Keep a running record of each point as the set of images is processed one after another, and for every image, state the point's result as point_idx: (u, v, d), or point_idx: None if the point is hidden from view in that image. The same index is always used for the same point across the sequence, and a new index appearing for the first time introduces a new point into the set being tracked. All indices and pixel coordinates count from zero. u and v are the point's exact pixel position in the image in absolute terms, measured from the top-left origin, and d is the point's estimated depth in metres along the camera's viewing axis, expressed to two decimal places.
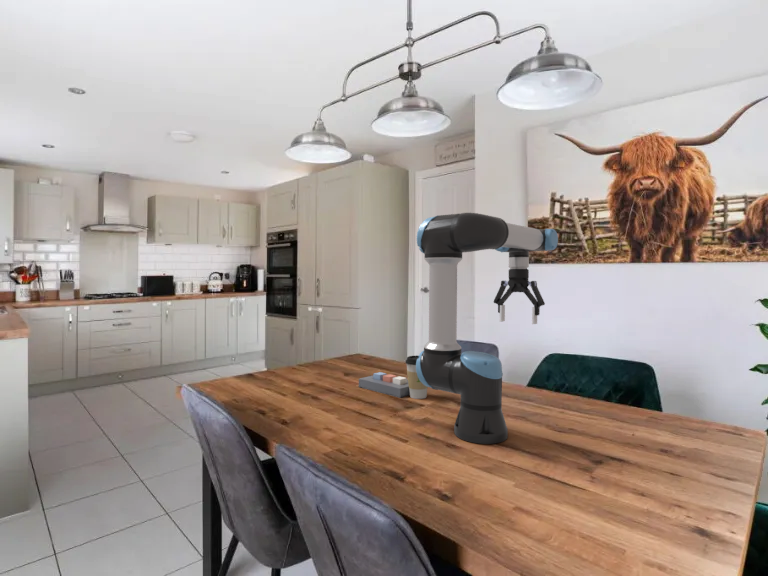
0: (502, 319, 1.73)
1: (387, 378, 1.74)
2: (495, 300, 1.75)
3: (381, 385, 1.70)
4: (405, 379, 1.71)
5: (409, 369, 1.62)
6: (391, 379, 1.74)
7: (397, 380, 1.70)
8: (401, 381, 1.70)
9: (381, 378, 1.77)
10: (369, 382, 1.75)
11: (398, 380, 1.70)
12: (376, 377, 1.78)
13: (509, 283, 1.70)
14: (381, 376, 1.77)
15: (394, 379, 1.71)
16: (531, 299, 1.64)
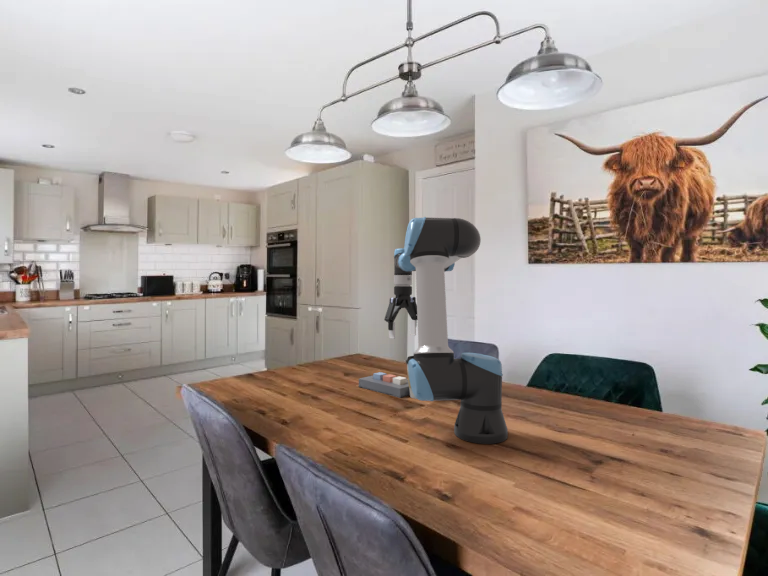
0: (411, 333, 1.86)
1: (387, 378, 1.74)
2: None
3: (381, 385, 1.70)
4: (405, 379, 1.71)
5: None
6: (391, 379, 1.74)
7: (397, 380, 1.70)
8: (401, 381, 1.70)
9: (381, 378, 1.77)
10: (369, 382, 1.75)
11: (398, 380, 1.70)
12: (376, 377, 1.78)
13: None
14: (381, 376, 1.77)
15: (394, 379, 1.71)
16: None
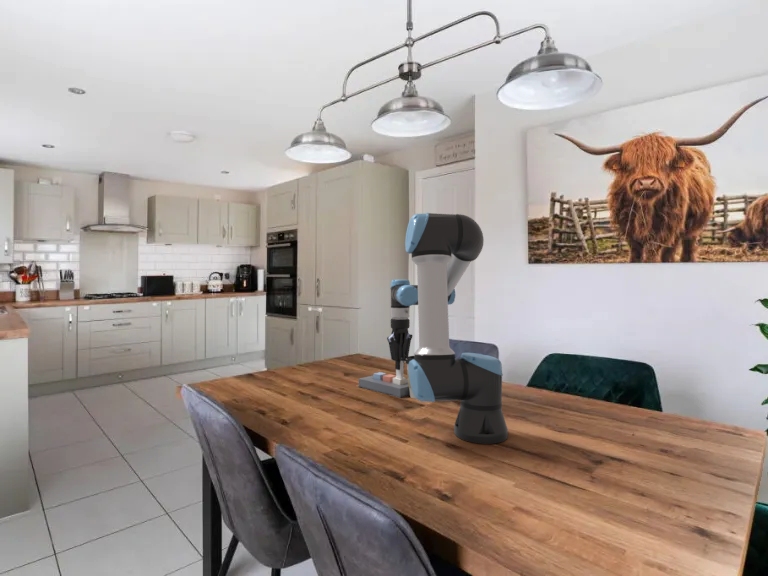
0: None
1: (387, 378, 1.74)
2: None
3: (381, 385, 1.70)
4: (405, 379, 1.71)
5: None
6: (391, 379, 1.74)
7: (397, 380, 1.70)
8: (401, 381, 1.70)
9: (381, 378, 1.77)
10: (369, 382, 1.75)
11: (398, 380, 1.70)
12: (376, 377, 1.78)
13: None
14: (381, 376, 1.77)
15: (394, 379, 1.71)
16: None
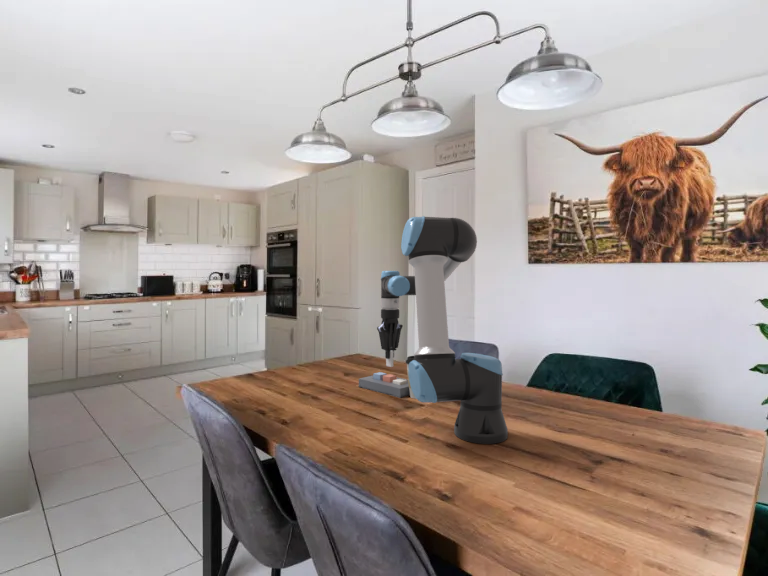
0: None
1: (387, 378, 1.74)
2: None
3: (381, 385, 1.70)
4: (405, 381, 1.71)
5: None
6: (391, 379, 1.74)
7: (397, 382, 1.70)
8: (401, 383, 1.70)
9: (381, 378, 1.77)
10: (369, 382, 1.75)
11: (398, 382, 1.70)
12: (376, 377, 1.78)
13: None
14: (381, 376, 1.77)
15: (394, 381, 1.71)
16: None
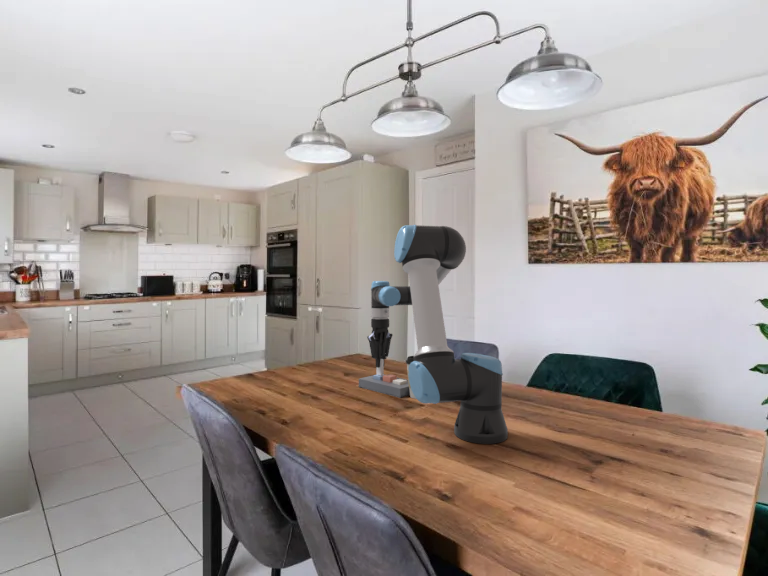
0: None
1: (387, 378, 1.74)
2: None
3: (381, 385, 1.70)
4: (405, 381, 1.71)
5: None
6: (391, 379, 1.74)
7: (397, 382, 1.70)
8: (401, 383, 1.70)
9: None
10: (369, 382, 1.75)
11: (398, 382, 1.70)
12: None
13: None
14: (381, 378, 1.77)
15: (394, 381, 1.71)
16: None
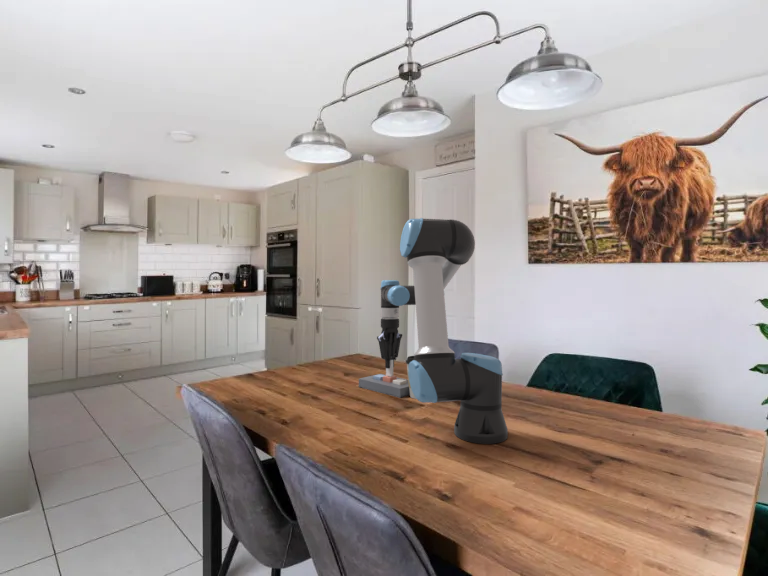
0: None
1: (387, 379, 1.74)
2: None
3: (381, 385, 1.70)
4: (405, 381, 1.71)
5: None
6: (391, 380, 1.74)
7: (397, 382, 1.70)
8: (401, 383, 1.70)
9: None
10: (369, 382, 1.75)
11: (398, 382, 1.70)
12: None
13: None
14: (381, 378, 1.77)
15: (394, 381, 1.71)
16: None
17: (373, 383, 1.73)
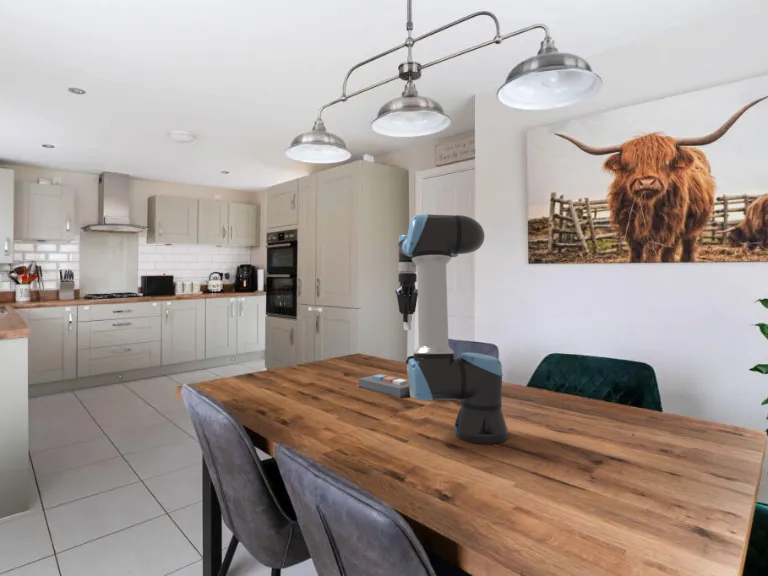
0: None
1: (387, 380, 1.74)
2: None
3: (381, 385, 1.70)
4: (405, 381, 1.71)
5: None
6: None
7: (397, 382, 1.70)
8: (401, 383, 1.70)
9: None
10: (369, 382, 1.75)
11: (398, 382, 1.70)
12: None
13: None
14: (381, 378, 1.77)
15: (394, 381, 1.71)
16: None
17: (373, 383, 1.73)
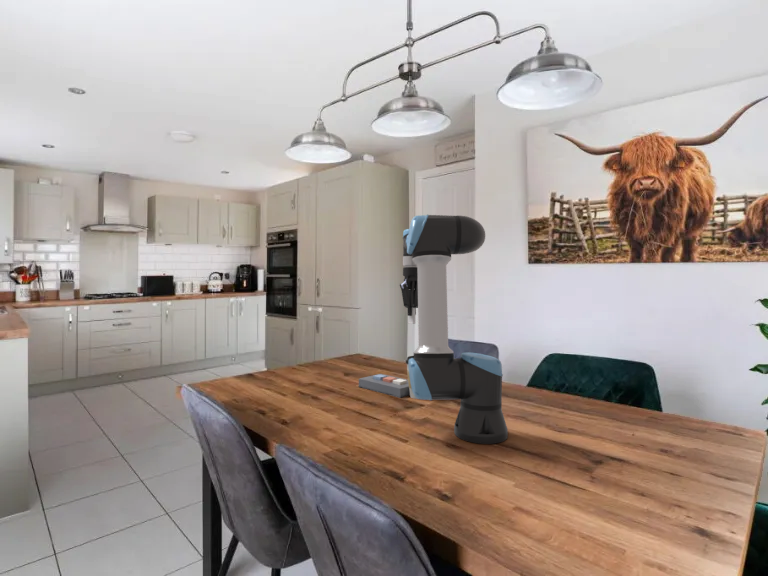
0: None
1: (387, 380, 1.74)
2: None
3: (381, 385, 1.70)
4: (405, 381, 1.71)
5: None
6: None
7: (397, 382, 1.70)
8: (401, 383, 1.70)
9: None
10: (369, 382, 1.75)
11: (398, 382, 1.70)
12: None
13: None
14: (381, 378, 1.77)
15: (394, 381, 1.71)
16: None
17: (373, 383, 1.73)
